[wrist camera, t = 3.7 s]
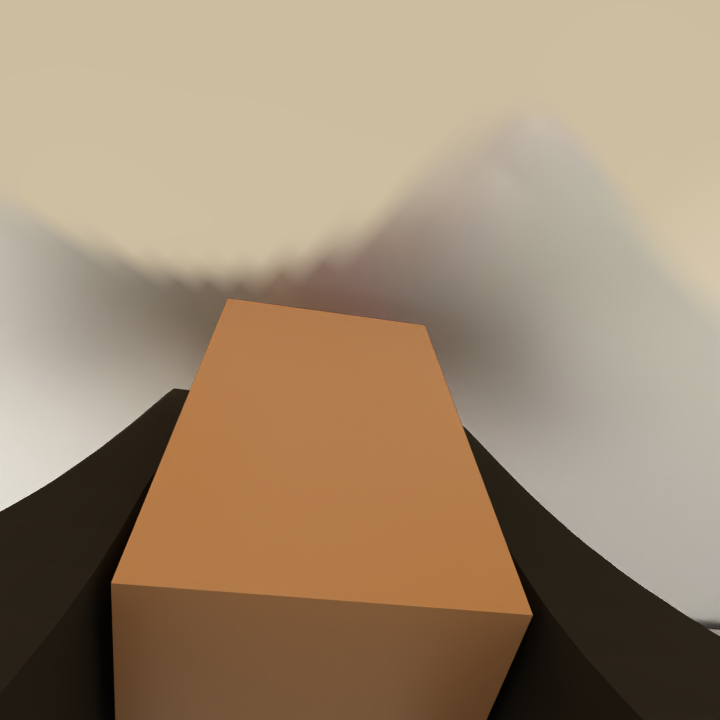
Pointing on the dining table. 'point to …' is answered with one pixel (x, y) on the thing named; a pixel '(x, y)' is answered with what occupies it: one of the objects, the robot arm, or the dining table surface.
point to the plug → (315, 537)
